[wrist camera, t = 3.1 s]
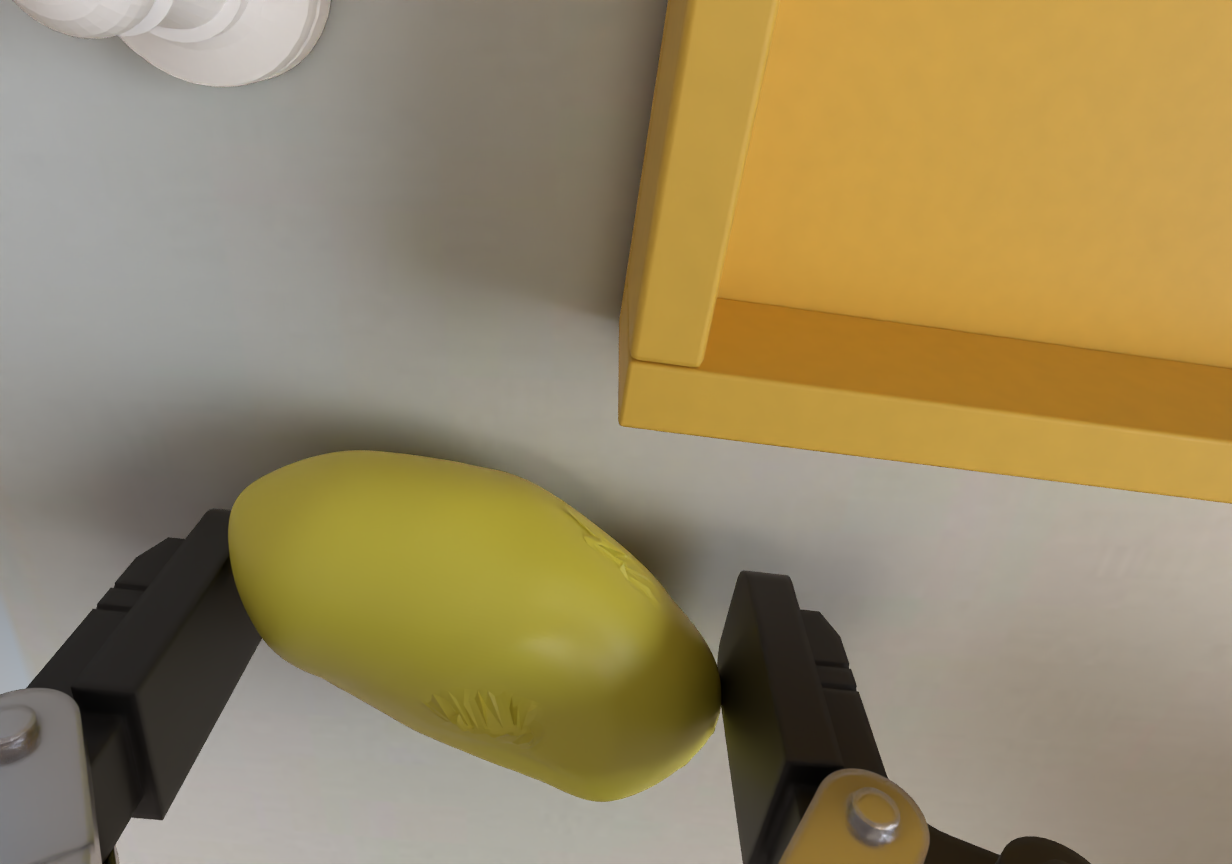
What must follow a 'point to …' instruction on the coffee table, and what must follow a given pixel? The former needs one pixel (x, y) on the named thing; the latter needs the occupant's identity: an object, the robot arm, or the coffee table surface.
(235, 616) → the robot arm
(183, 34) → the chess pawn
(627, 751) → the yellow oblong lump
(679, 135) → the yellow tray
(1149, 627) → the coffee table surface
